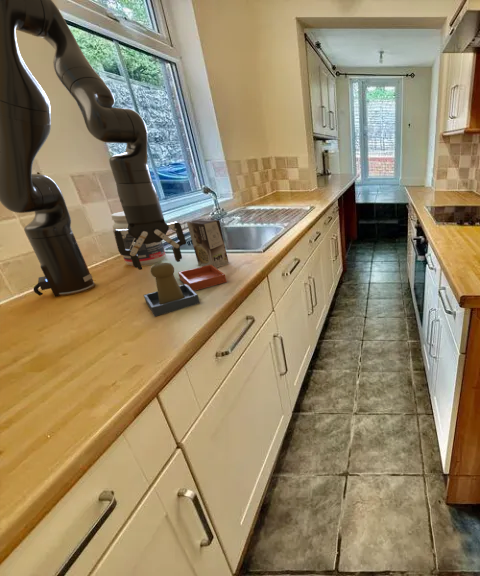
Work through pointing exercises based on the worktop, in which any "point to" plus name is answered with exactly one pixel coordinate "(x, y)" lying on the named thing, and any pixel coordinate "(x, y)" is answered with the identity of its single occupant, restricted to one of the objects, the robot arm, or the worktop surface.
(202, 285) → the terracotta tray
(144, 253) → the supplement tub
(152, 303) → the slate tray
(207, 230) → the coffee box
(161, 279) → the cork
